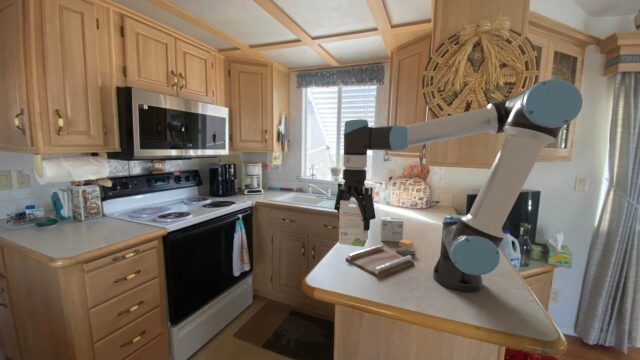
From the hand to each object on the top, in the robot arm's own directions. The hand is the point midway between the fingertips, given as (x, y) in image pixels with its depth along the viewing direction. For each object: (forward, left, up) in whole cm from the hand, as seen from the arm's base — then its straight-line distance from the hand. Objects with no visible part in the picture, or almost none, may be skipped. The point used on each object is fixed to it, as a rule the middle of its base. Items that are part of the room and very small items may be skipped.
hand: (352, 235), depth 88 cm
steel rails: (+4, -20, -16) cm, 26 cm away
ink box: (0, 0, -3) cm, 3 cm away
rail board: (+4, -20, -16) cm, 26 cm away
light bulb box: (+19, -46, -16) cm, 52 cm away
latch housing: (+4, -37, -16) cm, 40 cm away
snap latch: (+4, -37, -13) cm, 39 cm away
